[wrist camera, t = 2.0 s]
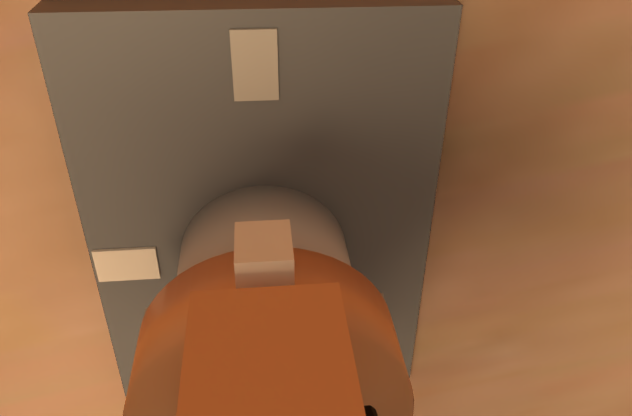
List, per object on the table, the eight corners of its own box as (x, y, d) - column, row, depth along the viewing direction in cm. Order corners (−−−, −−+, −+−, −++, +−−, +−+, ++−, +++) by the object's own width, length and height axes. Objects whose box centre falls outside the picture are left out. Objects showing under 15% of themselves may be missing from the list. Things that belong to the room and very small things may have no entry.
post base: (399, 377, 21) (429, 484, 17) (137, 397, 20) (115, 513, 17) (449, -7, 14) (515, 51, 10) (41, -1, 13) (-30, 65, 9)
